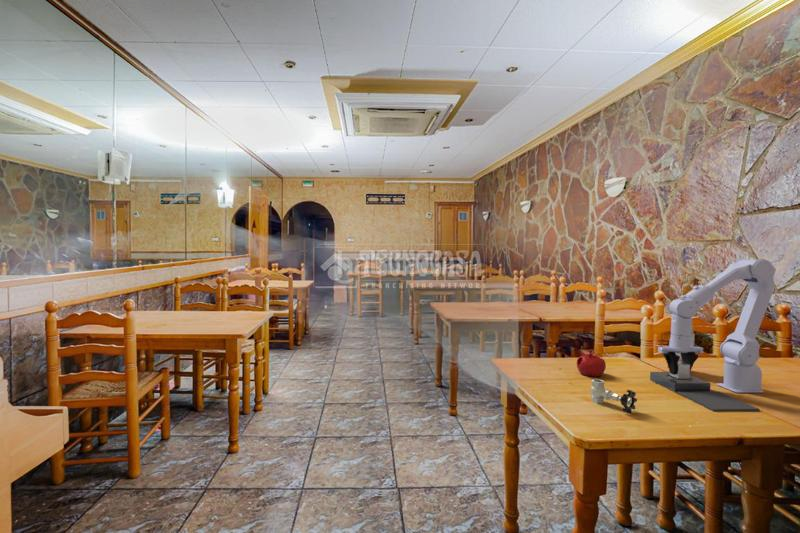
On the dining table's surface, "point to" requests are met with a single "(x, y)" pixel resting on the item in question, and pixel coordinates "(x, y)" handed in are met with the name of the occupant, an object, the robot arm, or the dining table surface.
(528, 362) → the dining table surface
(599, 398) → the valve
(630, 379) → the dining table surface
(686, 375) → the steel peg
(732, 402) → the rubber mat
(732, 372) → the robot arm
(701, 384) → the socket block
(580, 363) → the pomegranate
